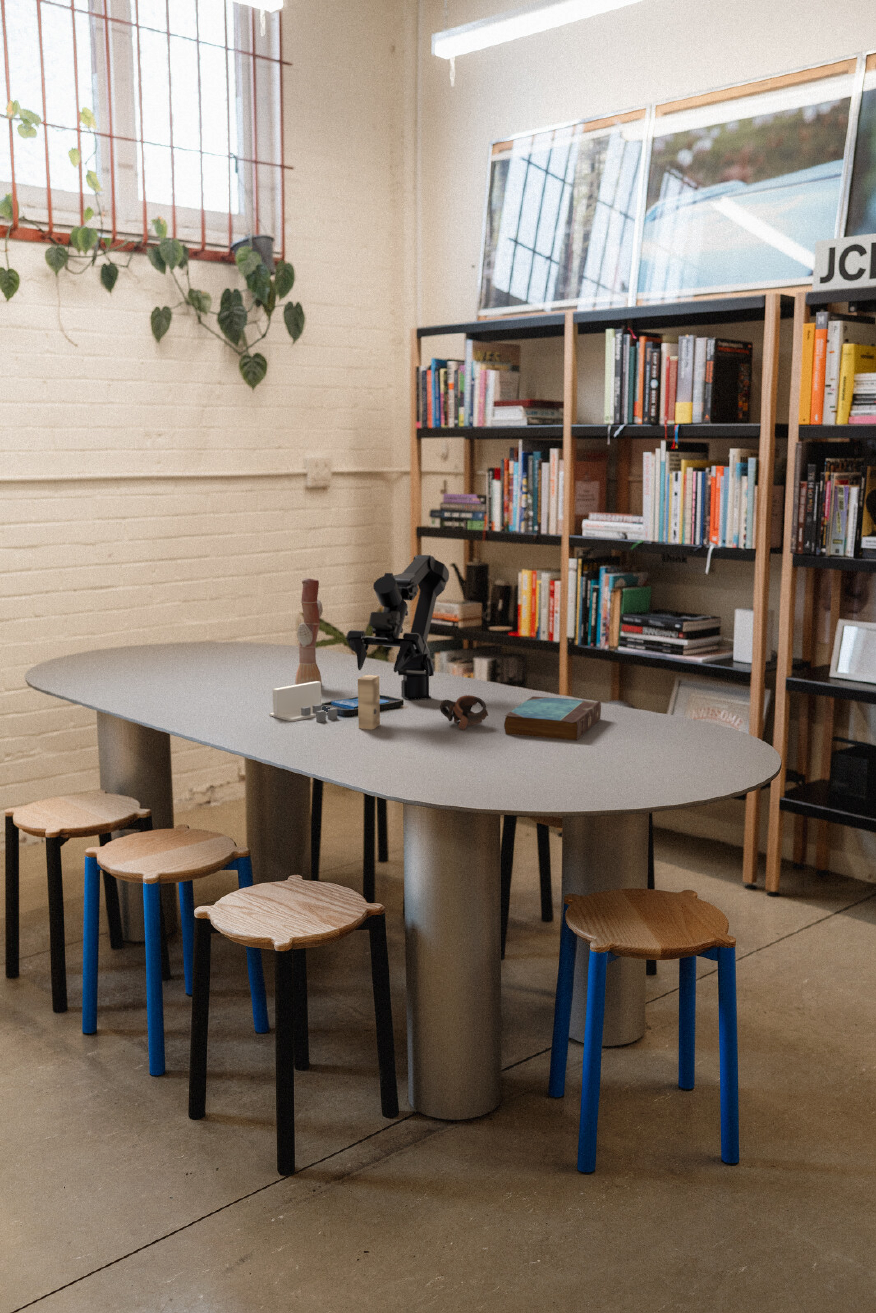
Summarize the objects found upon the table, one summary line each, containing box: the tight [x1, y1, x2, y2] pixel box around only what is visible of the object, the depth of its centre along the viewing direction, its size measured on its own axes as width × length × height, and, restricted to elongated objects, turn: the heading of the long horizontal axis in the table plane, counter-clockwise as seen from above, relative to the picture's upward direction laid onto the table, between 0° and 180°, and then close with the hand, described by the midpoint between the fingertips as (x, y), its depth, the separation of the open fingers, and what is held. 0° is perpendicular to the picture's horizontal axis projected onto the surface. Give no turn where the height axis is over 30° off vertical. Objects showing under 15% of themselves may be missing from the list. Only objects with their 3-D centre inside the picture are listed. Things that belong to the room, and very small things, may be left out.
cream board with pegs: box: [268, 681, 338, 723], centre depth 292 cm, size 14×14×7 cm
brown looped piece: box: [438, 694, 489, 731], centre depth 281 cm, size 12×10×8 cm
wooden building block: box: [357, 674, 381, 730], centre depth 280 cm, size 5×4×12 cm
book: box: [503, 695, 602, 742], centre depth 280 cm, size 23×18×5 cm
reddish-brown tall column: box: [294, 577, 324, 686], centre depth 328 cm, size 10×7×30 cm
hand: (376, 670), depth 284 cm, fingers open, 9 cm apart
